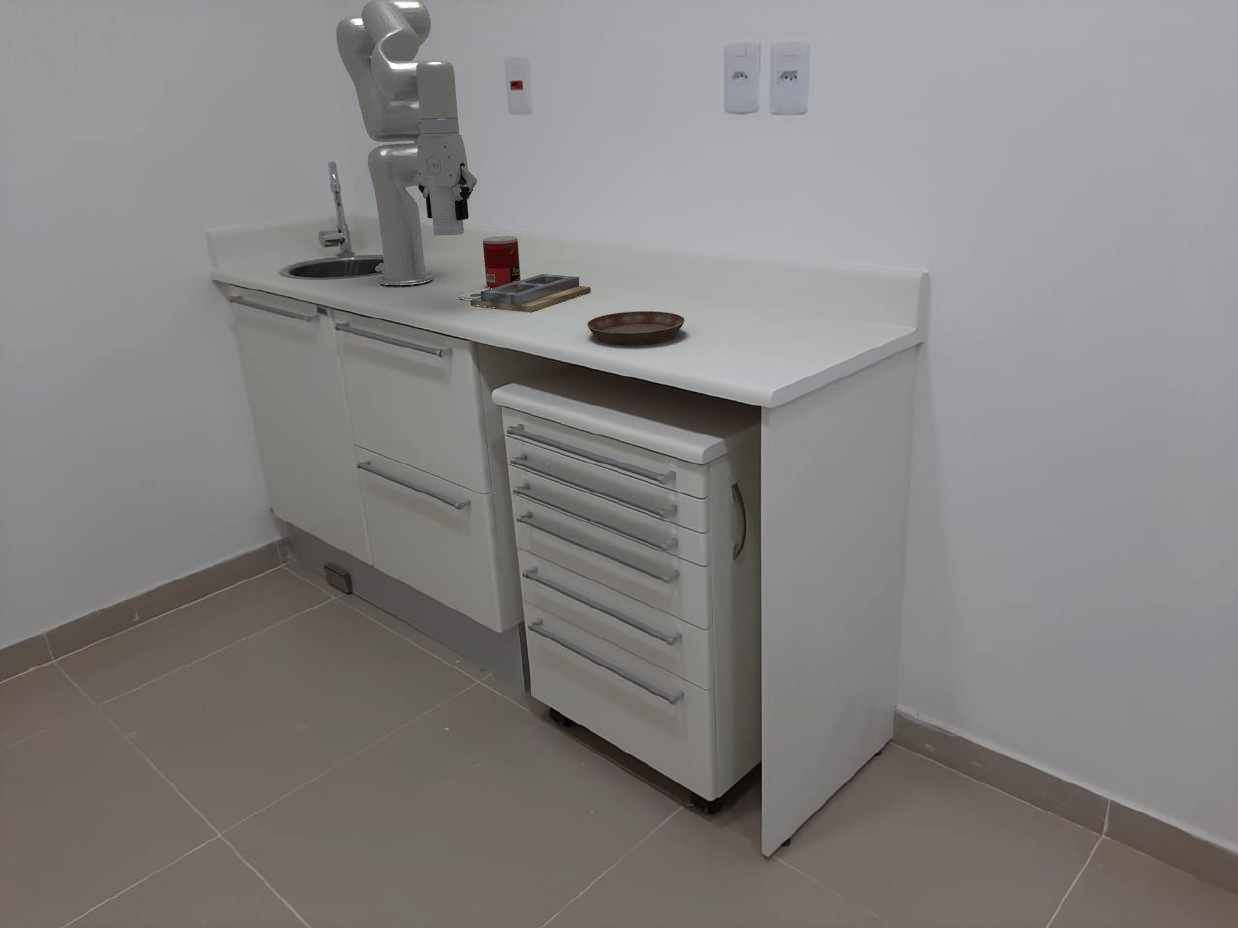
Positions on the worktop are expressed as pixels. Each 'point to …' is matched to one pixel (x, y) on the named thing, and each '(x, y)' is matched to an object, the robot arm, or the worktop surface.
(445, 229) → the skincare box
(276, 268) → the worktop surface
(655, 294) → the worktop surface
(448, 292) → the worktop surface
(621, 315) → the plant saucer
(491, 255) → the canned food
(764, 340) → the worktop surface
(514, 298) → the holder
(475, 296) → the card
